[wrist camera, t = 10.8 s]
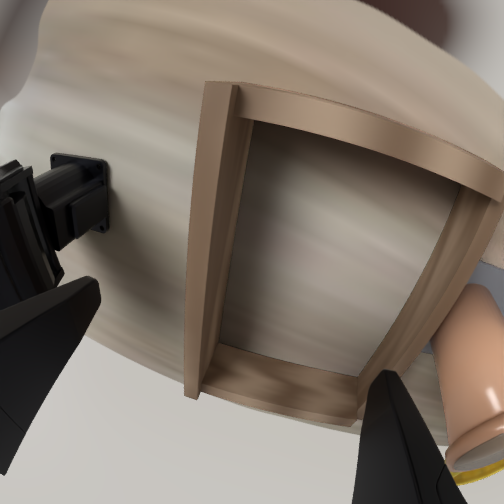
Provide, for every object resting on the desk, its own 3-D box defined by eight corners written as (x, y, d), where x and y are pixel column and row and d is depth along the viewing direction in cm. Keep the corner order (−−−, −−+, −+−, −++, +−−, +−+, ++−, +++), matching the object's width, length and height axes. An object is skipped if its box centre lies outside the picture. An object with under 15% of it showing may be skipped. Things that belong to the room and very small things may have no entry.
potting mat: (398, 345, 24) (398, 347, 24) (454, 251, 18) (455, 253, 18) (476, 359, 23) (477, 361, 23) (532, 281, 17) (533, 283, 17)
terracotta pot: (408, 337, 23) (423, 476, 12) (449, 270, 19) (505, 421, 8) (467, 349, 22) (494, 468, 12) (509, 290, 18) (565, 414, 8)
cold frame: (205, 348, 29) (184, 395, 24) (241, 82, 16) (205, 81, 11) (361, 387, 28) (361, 437, 23) (485, 160, 15) (533, 192, 10)
